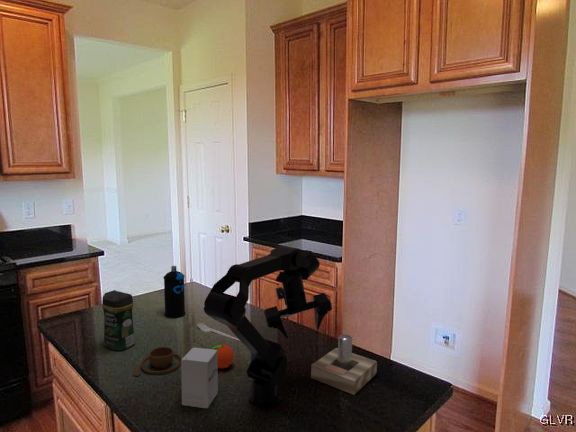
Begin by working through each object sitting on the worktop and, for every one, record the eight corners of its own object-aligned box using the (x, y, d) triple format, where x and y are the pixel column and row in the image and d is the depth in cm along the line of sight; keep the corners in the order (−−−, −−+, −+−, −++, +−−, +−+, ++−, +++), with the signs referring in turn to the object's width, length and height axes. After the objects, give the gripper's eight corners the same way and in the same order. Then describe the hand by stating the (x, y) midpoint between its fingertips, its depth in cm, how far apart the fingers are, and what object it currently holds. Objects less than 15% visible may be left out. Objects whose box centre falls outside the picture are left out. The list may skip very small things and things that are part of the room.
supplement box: (208, 409, 105) (207, 362, 103) (181, 405, 106) (179, 359, 104) (218, 393, 112) (218, 349, 110) (193, 389, 113) (192, 346, 112)
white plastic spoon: (237, 344, 143) (237, 339, 143) (195, 329, 154) (195, 324, 153) (243, 340, 146) (243, 335, 145) (202, 326, 156) (202, 321, 156)
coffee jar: (99, 346, 138) (97, 293, 135) (119, 337, 145) (117, 286, 142) (119, 353, 133) (116, 298, 131) (139, 344, 140) (137, 291, 137)
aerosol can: (160, 316, 164) (158, 267, 161) (171, 309, 172) (170, 262, 169) (178, 319, 162) (177, 269, 159) (189, 312, 169) (188, 264, 167)
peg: (349, 380, 119) (350, 341, 117) (335, 378, 121) (336, 339, 119) (352, 374, 123) (353, 335, 121) (338, 371, 124) (340, 333, 123)
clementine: (208, 374, 121) (207, 351, 120) (206, 363, 128) (205, 341, 127) (235, 371, 123) (235, 348, 122) (232, 360, 130) (232, 338, 129)
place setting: (185, 352, 136) (185, 335, 135) (204, 381, 119) (204, 362, 118) (129, 364, 128) (128, 346, 127) (141, 397, 110) (140, 377, 110)
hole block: (353, 394, 112) (354, 380, 111) (311, 377, 120) (311, 364, 120) (376, 373, 123) (376, 360, 123) (335, 359, 131) (336, 347, 131)
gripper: (317, 266, 123) (324, 310, 129) (256, 282, 120) (266, 326, 126) (328, 285, 113) (336, 331, 119) (262, 303, 110) (273, 349, 116)
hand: (302, 333), depth 120 cm, fingers open, 9 cm apart
